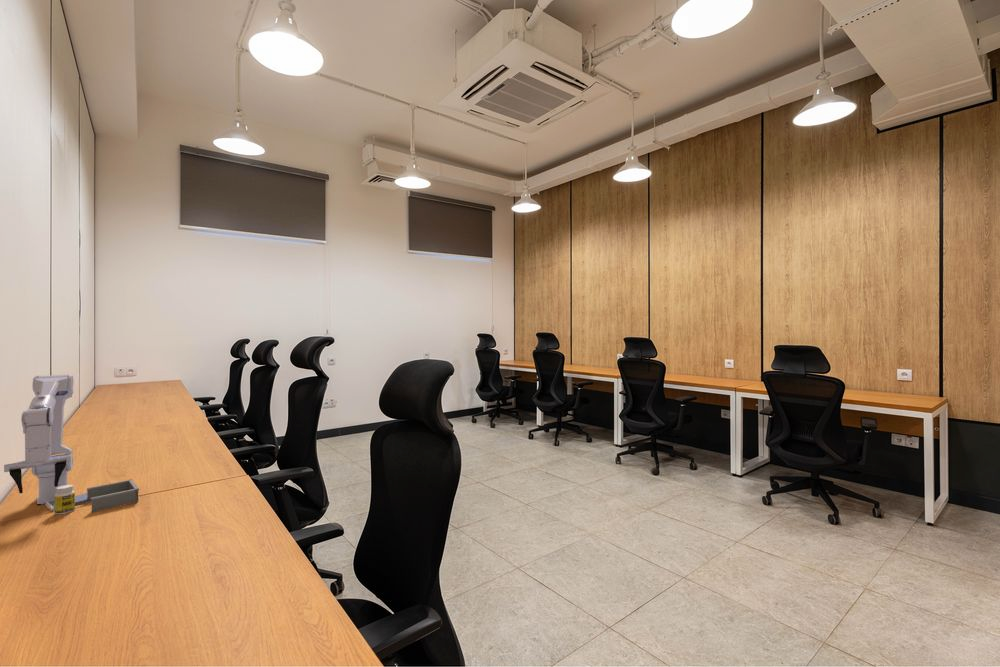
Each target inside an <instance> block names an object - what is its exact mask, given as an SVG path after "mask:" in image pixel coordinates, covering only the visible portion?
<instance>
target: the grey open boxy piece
mask: <svg viewBox="0 0 1000 667" xmlns="http://www.w3.org/2000/svg"><path fill="white" fill-rule="evenodd" d="M86 491H87V499H90V498H91V503H90V504H91V513H94V512H95V513H96V512H98V511H99V512H100V511H103V510H107V509H112V507H113V508H117V507H116V506H118V507H120V505H122V506H125V505H124V504H127V505H130V504H129V503H131V504H134V503H133V502H135V503H138V502H139V491H140V488H139V487H138V486H137V483H135V482H134V480H133V479H132V478H131V479H125V480H121V481H117V482H112V483H107V484H106V483H105V484H101V485H96V486H91V487H87V488H86ZM137 501H138V502H137Z"/></svg>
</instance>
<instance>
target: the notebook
mask: <svg viewBox="0 0 1000 667" xmlns="http://www.w3.org/2000/svg"><path fill="white" fill-rule="evenodd" d="M90 501H91V498H90V499H87V493H81V494H78V495H75V506H77V504H79V505H83V504H86V502H87V503H90ZM82 503H83V504H82ZM45 506H46V508H47V509H49V510H50V511H51V510H54V511H55V501H51V502H46V504H45Z"/></svg>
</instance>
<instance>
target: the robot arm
mask: <svg viewBox="0 0 1000 667" xmlns="http://www.w3.org/2000/svg"><path fill="white" fill-rule="evenodd" d="M74 383H75V382H74V376H73V375H72V374H70V373H69V374H68V373H67V374H54V375H53V374H51V375H49V374H48V375H35V376H34V377H33V379H32V391H33V393H34V395H35V396H34V397H33V398H32V399H31V402H30V403H29V404H30V405H29V407H28V409H26V410H25V411H24V410H23V412H22V413H21V420H20V421H21V425H22V426H21V427H22V433H23V435H24V461H18V462H12V463H8V464H3V473H8V472H9V476H10V477H11V478H12V480H13V481H14V482H15V484H16V487H17V488H18V493H19V494H23V492H24V491H23V489H24V488H23V484H22V483H23V482H22V479H23V478H22V475H23V474H22V470H24V469H29V468H30V469H31V474H32V475H33V476H35V477H36V478H37V479H38V496H37V497H36V503H37V504H41V505H46V504H45V503H46V502H51V501H55V494H56V488H57V487H60V486H64V485H68V473H69V472H71V470H73V467H74V456H73V450H72V449H71V448H70V447H68V446H65V445H64V444H63V433H64V415H65V414H64V413H65V412H64V411H65V410H64V409H65V404H66V401H67V400H69V399H70V398H72V397H73V394H74ZM37 504H36V505H37Z"/></svg>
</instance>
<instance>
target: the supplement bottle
mask: <svg viewBox="0 0 1000 667" xmlns="http://www.w3.org/2000/svg"><path fill="white" fill-rule="evenodd" d="M75 492H76V491H75V490H74V485H73V484H67V485H64V486H60V487H57V488H56V494H55V510H54V515H66V514H69V513H72V512H74V511H75V510H76V508H75V506H76V505H75V496H76V495H75V494H76V493H75Z"/></svg>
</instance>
